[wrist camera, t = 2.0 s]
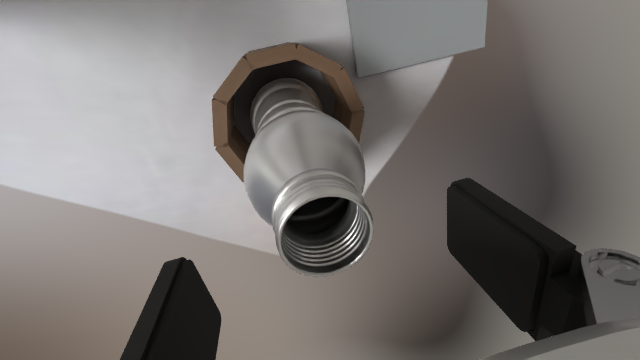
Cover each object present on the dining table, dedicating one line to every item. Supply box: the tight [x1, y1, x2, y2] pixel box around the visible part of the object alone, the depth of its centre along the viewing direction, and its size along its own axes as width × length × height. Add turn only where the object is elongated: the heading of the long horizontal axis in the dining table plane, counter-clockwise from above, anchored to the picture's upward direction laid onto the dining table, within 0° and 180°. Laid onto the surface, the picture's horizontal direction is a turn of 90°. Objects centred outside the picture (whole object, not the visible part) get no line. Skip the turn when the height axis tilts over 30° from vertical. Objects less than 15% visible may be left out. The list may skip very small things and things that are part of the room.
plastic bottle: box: [244, 78, 374, 277], centre depth 19 cm, size 6×7×20 cm
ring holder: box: [212, 43, 364, 182], centre depth 25 cm, size 12×12×6 cm
